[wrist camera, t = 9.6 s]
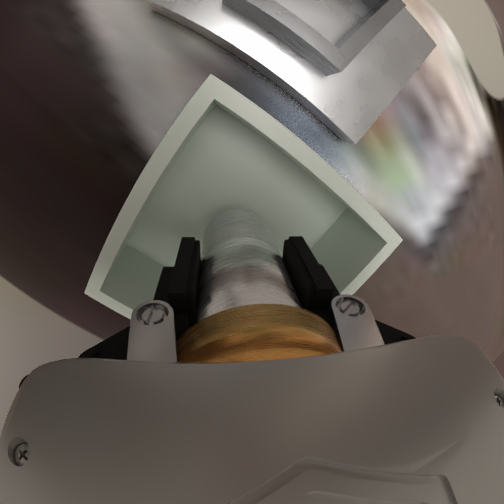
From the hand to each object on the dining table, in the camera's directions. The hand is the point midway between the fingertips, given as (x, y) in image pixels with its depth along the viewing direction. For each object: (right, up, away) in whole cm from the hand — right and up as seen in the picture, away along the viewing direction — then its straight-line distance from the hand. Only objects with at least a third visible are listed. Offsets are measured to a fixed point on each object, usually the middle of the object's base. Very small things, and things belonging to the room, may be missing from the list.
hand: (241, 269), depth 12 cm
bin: (-1, +3, +5) cm, 6 cm away
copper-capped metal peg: (0, +1, +2) cm, 3 cm away
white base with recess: (+3, +15, -1) cm, 15 cm away
